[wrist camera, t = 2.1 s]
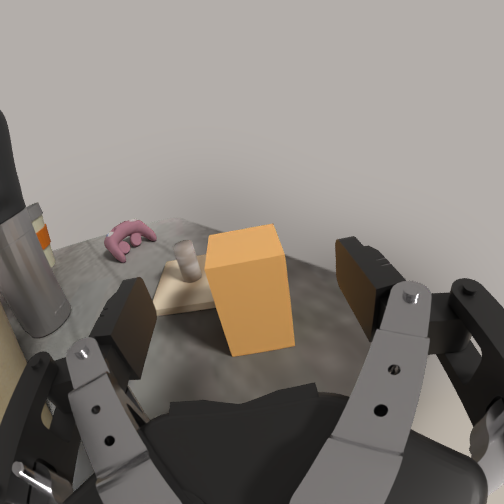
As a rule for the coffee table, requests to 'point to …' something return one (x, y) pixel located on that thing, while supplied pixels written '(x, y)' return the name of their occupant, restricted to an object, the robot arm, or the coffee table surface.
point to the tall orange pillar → (250, 289)
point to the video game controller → (123, 230)
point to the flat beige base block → (183, 283)
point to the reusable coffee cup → (41, 231)
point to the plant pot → (12, 367)
